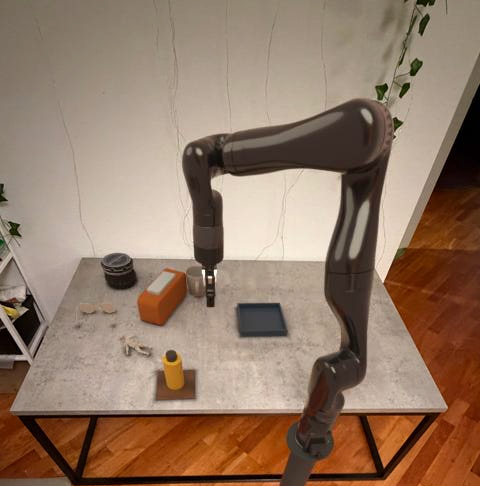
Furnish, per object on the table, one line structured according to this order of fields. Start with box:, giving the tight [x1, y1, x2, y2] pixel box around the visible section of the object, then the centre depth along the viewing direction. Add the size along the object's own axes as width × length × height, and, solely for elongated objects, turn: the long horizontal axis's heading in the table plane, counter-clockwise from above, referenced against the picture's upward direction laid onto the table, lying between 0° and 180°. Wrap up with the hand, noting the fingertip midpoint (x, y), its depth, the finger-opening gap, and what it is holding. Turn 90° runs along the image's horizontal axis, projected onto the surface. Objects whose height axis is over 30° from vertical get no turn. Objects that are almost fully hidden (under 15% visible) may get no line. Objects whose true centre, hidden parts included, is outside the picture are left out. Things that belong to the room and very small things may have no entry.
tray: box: [236, 302, 288, 338], centre depth 130 cm, size 17×17×2 cm
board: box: [155, 369, 196, 401], centre depth 109 cm, size 12×12×1 cm
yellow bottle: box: [161, 349, 184, 390], centre depth 103 cm, size 6×6×13 cm
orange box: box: [136, 267, 188, 326], centre depth 129 cm, size 24×8×11 cm, turn 161°
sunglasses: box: [75, 302, 116, 327], centre depth 125 cm, size 14×8×5 cm, turn 95°
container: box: [100, 252, 137, 290], centre depth 139 cm, size 13×13×10 cm
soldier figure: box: [118, 333, 153, 357], centre depth 117 cm, size 8×5×12 cm
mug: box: [185, 265, 206, 297], centre depth 136 cm, size 12×9×10 cm
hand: (210, 297), depth 95 cm, fingers open, 8 cm apart
